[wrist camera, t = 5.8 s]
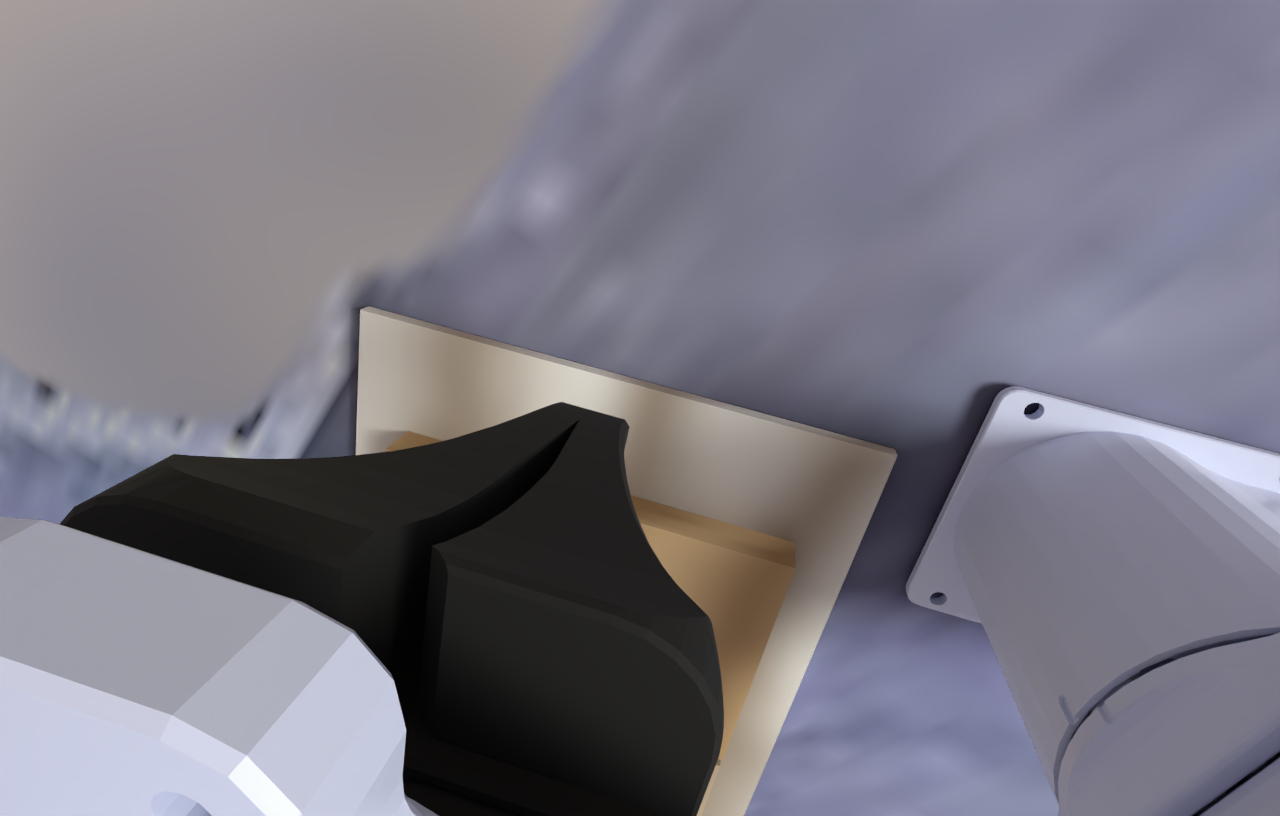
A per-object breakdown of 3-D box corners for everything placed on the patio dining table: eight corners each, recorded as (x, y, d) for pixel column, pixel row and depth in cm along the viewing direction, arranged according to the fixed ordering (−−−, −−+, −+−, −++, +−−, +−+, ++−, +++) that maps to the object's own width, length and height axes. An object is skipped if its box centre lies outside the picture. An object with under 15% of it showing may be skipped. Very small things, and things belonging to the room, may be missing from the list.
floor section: (894, 449, 21) (906, 480, 19) (727, 844, 29) (723, 893, 27) (368, 306, 22) (331, 321, 20) (353, 719, 31) (326, 756, 29)
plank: (794, 542, 22) (795, 568, 21) (725, 727, 26) (722, 760, 24) (408, 430, 23) (385, 448, 22) (394, 622, 27) (374, 648, 26)
